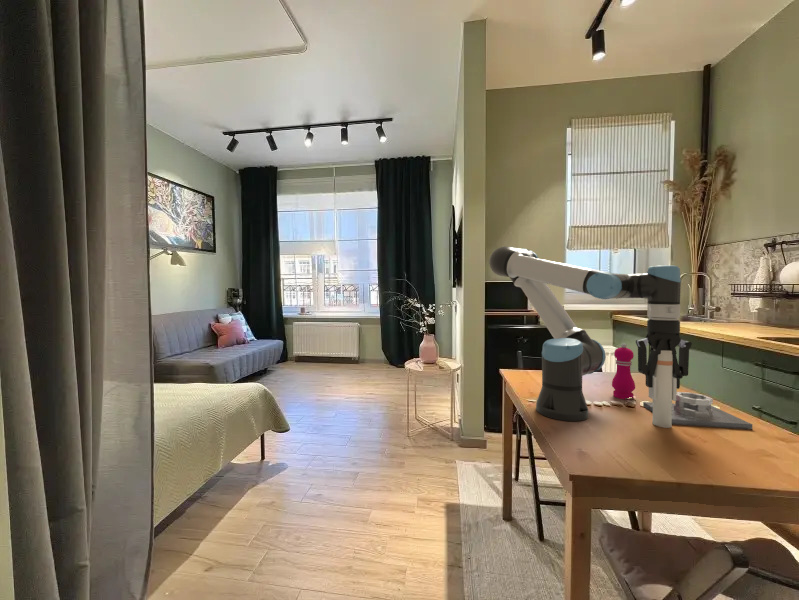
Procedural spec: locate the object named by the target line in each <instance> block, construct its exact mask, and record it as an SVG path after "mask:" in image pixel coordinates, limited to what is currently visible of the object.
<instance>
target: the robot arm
mask: <svg viewBox="0 0 799 600" xmlns="http://www.w3.org/2000/svg"><path fill="white" fill-rule="evenodd" d="M488 261H489V267H490V269H491V271H492V272H493V273H494V274H495V275H497V276H499V277H505V278H509V279H510V280H511V282H512V283H513V285H514V286H515V287H516V288H520V289H521V290H522V293H524V295H525V296H526V297H527V299H528V301H529V303H531V305H532V307H533V308H534V310H535V312H536V313H537V315H538V316H539V318H540V319H541V320H542V323H543V324H544V326H545V327H546V329H547V330H548V331H549V333H550V334H551V336H552V337H553V338H551V339H547V340H545V341H544V342H543V344H542V350H541V381H542V382H541V389H540V392H539V394H538V397H537V400H536V403H535V407H536V408H535V411H536V412H537V413H539V414H540V415H542V416H544V417H547V418H550V419H554V420H559V421H564V422H565V421H566V422H581V421H585V420H587V419H589V407H588V405H587V401H586V398H585V395H584V392H583V376H586V375H590V374H591V375H592V374H593V373H594V372H598V371H599V370H600V369H601V368H602V367H603V366H604V365H605V361H606V350H605V348H604V347H603V345H602V344H601V343H600V342H598V341H597V340H595V339H593V338H591V336H589V334H588V333H587V331H586V330H585V329H583V328H579V327H578V326H577V325H576V324H575V322H574V321H573V319H572V318H571V317H570V315H569V314H568V312H567V311H566V310H565V308H564V306H563V305H562V304H561V302H560V301H559V299H558V298H557V297H556V295H555V293H554V292H553V290H552V289H551V288H550V287H549V285H551V286H556V287H559V288H564V289H568V290H571V291H575V292H578V293H583V294H587V295H590V296H592V297H593V298H597V299H601V300H609V299H616V300H617V299H647V304H646V305H647V307H646V308H647V310H646V311H647V312H646V313H647V314H646V316H647V320H646V325H647V326H646V327H647V328H646V332H647V334H646V336H645V338H642V339H636V340H635V344H636V347H637V371H638V373H640V374H642V375H645V386H646V387H647V388H648V398H649V399H652V401H653V400H656V397H657V377H654V372H655V369H656V365H657V361H658V355H659V354H661V350H668V351H672V355H673V356H672V361H673V365H672V402H673V401H674V402H675V401H676V395H677V392H678V390H677V389H680V388H681V386H680V385H681V379H683V377H687V376H689V367H690V366H689V365H690V363H689V362H690V360H689V359H690V349H691V346H692V345H693V343H692V342H691V341H688V340H684V339H682V338H681V336H680V334H681V333H680V332H681V321H680V320H678V319H679V318H681V289H682V286H681V285H682V280H681V279H682V278H681V269H680V267H679V266H677V265H669V264H668V265H653V266H652V265H651V266H649V267H648V268H647V271H646V272H645V273H613V272H608V271H603V270H597V269H593V268H588V267H582V266H577V265H574V264H573V265H572V264H569V263H563V262H557V261H554V260H553V261H552V260H549V259H548V260H547V259H542V258H539V256H538V255H537V253H535V252H534V251H533V250H531V249H528V248H523V247H522V248H519V247H514V246H513V247H512V246H505V245H504V246H500V247H498V248H496V249H495V250H494V251H493V252H492V253H491V254H490V256H489V260H488ZM648 345H649V346H650V348H649V354H648V351H647V350H648V349H647V346H648ZM678 346H679V348H678V358H677V349H676V347H678ZM653 349H654V350H655V351H654V350H653ZM647 354H648V355H649V356H648V355H647ZM647 356H648V357H647Z"/></svg>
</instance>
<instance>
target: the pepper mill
mask: <svg viewBox="0 0 799 600" xmlns="http://www.w3.org/2000/svg"><path fill="white" fill-rule="evenodd" d="M620 346H621V347H618V348H616V349H615V350H614V352H613V354H614V358H615V365H616V372H615V374H614V376H613V378H612V381H611V386H612V388H613V389H614V390H613V392H612V393H613V394H612V395H613V397H614V398H616V399H620V400H626V399H625V398H629V397H632V398H633V399H634V396H635V395H634V392H633V391H635V389H636V383H635V380H634V378H633V376H632V372H631V367H632V365H633V364H632V363H633V361H632V360H633V359H634V352H633V350H632V349H630V348H628V346H627V344H626V343H621V344H620Z"/></svg>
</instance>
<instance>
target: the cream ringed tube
mask: <svg viewBox="0 0 799 600" xmlns="http://www.w3.org/2000/svg"><path fill="white" fill-rule="evenodd" d="M653 350H654V349H653ZM654 351H655V350H654ZM672 356H673V355H672V351H668V350H661V354H659V355H658V361H657V365H656V369H655V372H654V377H657V397H656V400H653V399H652V402H653V412H652V425H653V426H656V427H659V428H663V429H669V428H672V425H673V424H672V404H673V400H672V365H673V361H672Z"/></svg>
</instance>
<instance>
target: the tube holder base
mask: <svg viewBox="0 0 799 600" xmlns="http://www.w3.org/2000/svg"><path fill="white" fill-rule="evenodd" d="M674 402H675V403H672V425H676V426H691V427H692V426H693V427H694V426H695V427H708V428H721V429H724V428H725V429H737V430H750V429H752V430H753V424H752V423H750V422H749V421H747V420H744V419H741V418H740V417H737V416H735V415H733V414H732V413H729V412H727V411H724V410H722V409H721V408H720V409H719V408H717V407H716V406H713V404H714V403H713V402H714V399H713V398H712V397H710V396H709V395H708V396H707V395H705V394H700V393H695V392H688V391H687V392H685V391H677V395H676V401H674ZM642 403H643V408H645V409H646V410H648V411H650V412H652V413H653V401H652V402H650V401H643V402H642Z"/></svg>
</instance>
